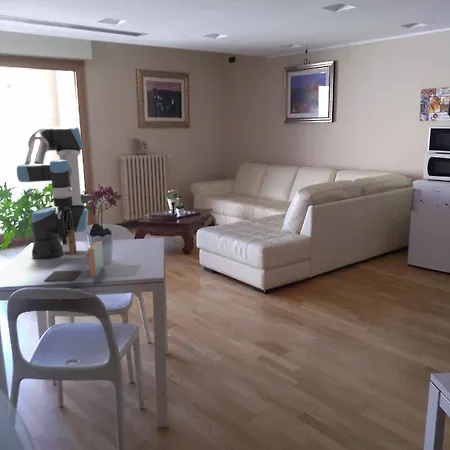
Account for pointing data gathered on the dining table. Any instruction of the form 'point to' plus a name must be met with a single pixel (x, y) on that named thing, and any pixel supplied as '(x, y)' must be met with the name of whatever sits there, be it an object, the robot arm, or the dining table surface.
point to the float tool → (74, 247)
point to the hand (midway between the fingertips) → (68, 249)
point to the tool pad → (62, 276)
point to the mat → (116, 271)
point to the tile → (96, 258)
